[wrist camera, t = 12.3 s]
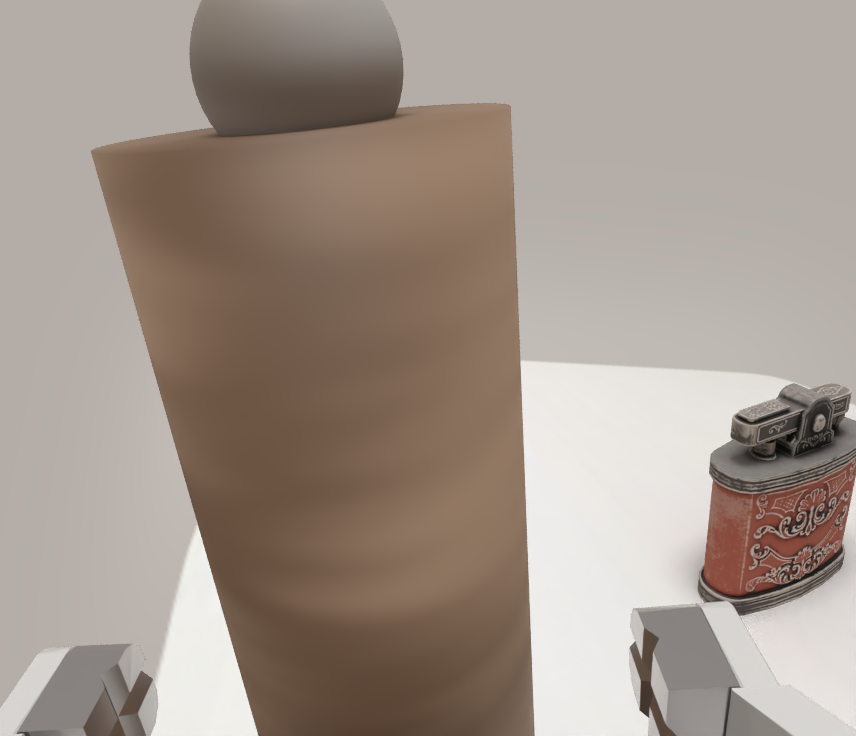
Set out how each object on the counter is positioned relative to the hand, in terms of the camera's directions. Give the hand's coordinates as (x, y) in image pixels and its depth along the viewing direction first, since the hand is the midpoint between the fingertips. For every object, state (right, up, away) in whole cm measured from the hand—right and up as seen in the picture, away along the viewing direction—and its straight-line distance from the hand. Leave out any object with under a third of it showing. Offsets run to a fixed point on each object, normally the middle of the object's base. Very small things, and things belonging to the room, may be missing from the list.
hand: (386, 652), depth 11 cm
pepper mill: (+1, -13, +6) cm, 15 cm away
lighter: (+18, -6, +22) cm, 28 cm away
